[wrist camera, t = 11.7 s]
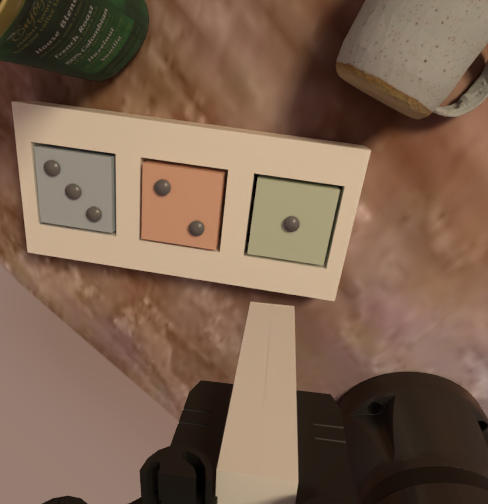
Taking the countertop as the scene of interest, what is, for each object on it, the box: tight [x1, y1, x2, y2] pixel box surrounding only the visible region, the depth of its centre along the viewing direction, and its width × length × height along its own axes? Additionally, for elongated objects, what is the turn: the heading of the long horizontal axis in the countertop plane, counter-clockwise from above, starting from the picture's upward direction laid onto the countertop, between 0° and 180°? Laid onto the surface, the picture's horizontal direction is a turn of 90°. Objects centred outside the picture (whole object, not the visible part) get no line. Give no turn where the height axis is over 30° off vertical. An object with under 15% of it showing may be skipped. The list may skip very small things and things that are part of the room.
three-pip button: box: [34, 144, 116, 233], centre depth 31 cm, size 6×6×3 cm
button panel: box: [11, 101, 371, 301], centre depth 31 cm, size 12×26×3 cm, turn 83°
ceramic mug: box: [336, 0, 488, 119], centre depth 23 cm, size 11×8×8 cm
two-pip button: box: [141, 159, 228, 250], centre depth 30 cm, size 6×6×3 cm
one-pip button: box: [247, 174, 340, 266], centre depth 30 cm, size 6×6×3 cm
